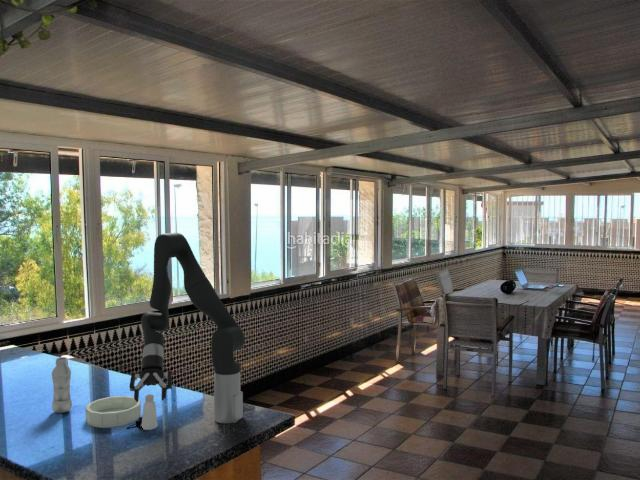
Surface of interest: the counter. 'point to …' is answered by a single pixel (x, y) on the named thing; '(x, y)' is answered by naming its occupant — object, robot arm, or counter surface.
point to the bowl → (113, 411)
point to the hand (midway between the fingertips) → (149, 400)
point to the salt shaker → (149, 413)
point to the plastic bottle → (61, 386)
